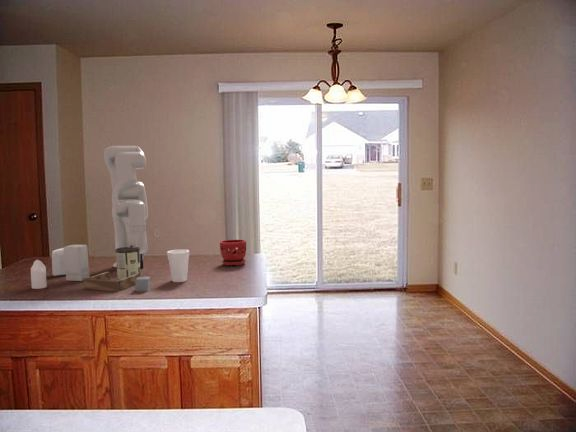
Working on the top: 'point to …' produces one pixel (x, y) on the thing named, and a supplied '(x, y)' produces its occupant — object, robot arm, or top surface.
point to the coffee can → (127, 262)
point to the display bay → (109, 282)
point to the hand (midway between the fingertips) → (139, 268)
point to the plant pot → (236, 255)
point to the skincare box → (76, 262)
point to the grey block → (143, 284)
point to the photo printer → (58, 262)
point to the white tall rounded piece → (38, 275)
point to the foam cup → (178, 264)
